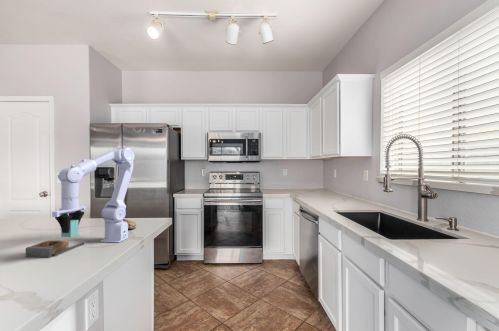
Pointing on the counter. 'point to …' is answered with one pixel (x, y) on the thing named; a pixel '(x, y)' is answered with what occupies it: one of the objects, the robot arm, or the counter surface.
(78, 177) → the robot arm
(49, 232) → the counter surface
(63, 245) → the brown rectangular frame
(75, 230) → the aqua rectangular prism
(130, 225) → the decorative stone
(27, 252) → the backstop
